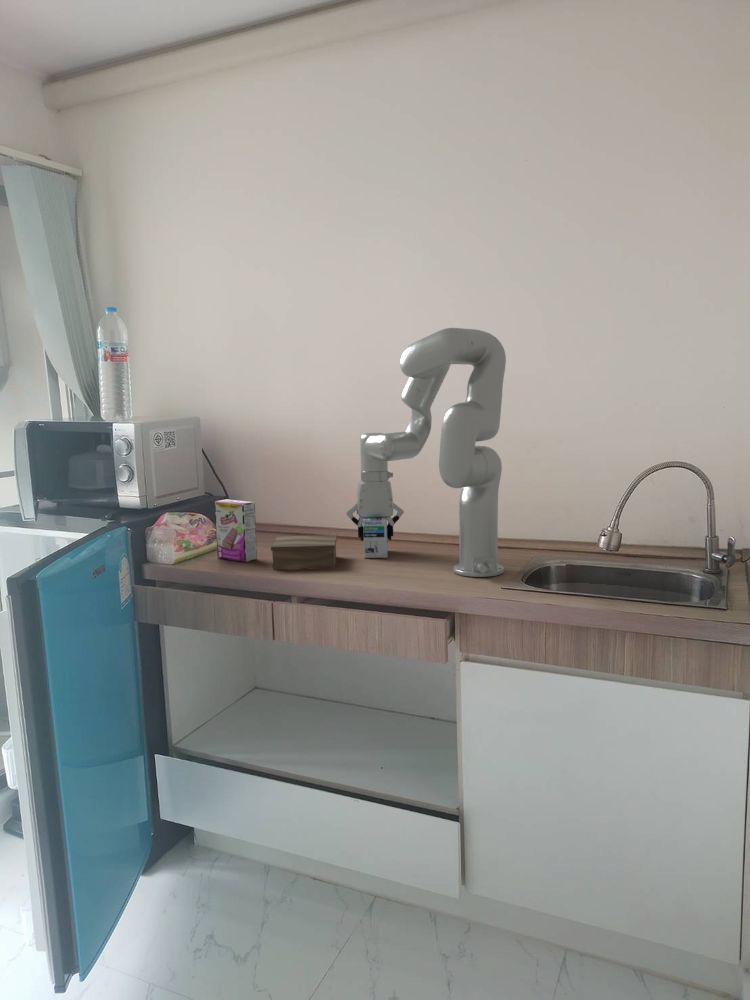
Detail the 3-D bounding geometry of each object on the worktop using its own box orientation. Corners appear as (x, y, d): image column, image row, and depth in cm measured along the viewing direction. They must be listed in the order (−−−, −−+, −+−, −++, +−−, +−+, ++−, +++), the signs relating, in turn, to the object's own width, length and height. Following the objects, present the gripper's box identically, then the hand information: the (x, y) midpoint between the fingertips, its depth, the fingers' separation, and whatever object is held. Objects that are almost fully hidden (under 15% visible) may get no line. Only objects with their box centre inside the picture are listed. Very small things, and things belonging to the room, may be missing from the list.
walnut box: (335, 569, 191) (334, 545, 190) (271, 571, 191) (270, 546, 190) (337, 557, 205) (336, 534, 205) (278, 559, 205) (277, 536, 204)
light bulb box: (387, 558, 202) (387, 519, 200) (363, 558, 202) (362, 520, 200) (387, 550, 212) (387, 513, 211) (364, 550, 213) (364, 514, 211)
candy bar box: (216, 558, 206) (213, 501, 204) (229, 555, 210) (226, 498, 208) (245, 562, 200) (242, 503, 197) (258, 559, 204) (255, 501, 202)
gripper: (403, 474, 209) (404, 535, 211) (342, 476, 207) (344, 538, 209) (407, 477, 201) (408, 540, 204) (344, 479, 200) (346, 543, 202)
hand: (375, 539), depth 207 cm, fingers closed on light bulb box, 7 cm apart
